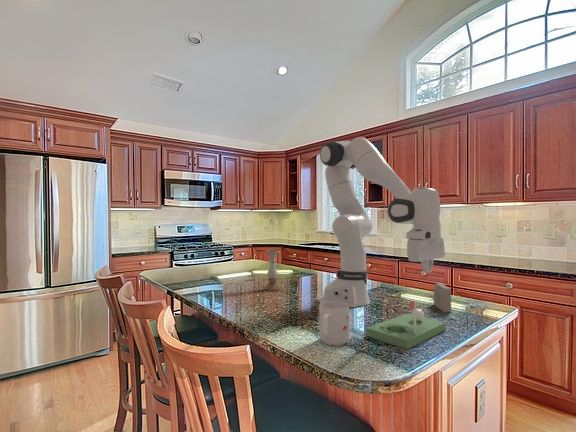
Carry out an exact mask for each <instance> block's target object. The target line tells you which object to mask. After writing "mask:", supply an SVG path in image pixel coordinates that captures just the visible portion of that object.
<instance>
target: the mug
mask: <svg viewBox="0 0 576 432" xmlns="http://www.w3.org/2000/svg"><path fill="white" fill-rule="evenodd" d="M318 309H319V313H318V314H319V319H318V320H319V339H320V341H321V342H322V343H323V342H324V343H325V344H324V343H323V344H324V345H326V344H328V345H327V346H330V345H333V346H332V347H340V346H344V345H346V344H345V343H348V341H349V340H350V307H349V305H348V304H347V303H344V302H339V301H326V302H322V303H319V307H318Z"/></svg>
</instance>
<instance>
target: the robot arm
mask: <svg viewBox="0 0 576 432" xmlns="http://www.w3.org/2000/svg"><path fill="white" fill-rule="evenodd" d="M319 157H320V160H321V162H322V164H323V165H325V166H327V167H325V172H324V174H325V175H324V176H325V182H326V186H327V189H328V192H329V197H330V199H331V202H332V204H333V205H332V206H333V207H334V208H335V209H336V210H337V212H338V213H339V216H337V217H336V218H335V219H334V220H333V222H332V226H331V229H332V232H333V234H334V235H335V237H336V239H337V242H338V247H339V251H340V269H339V268H337V269H336V271H335V275H336V276H335V277H336V278H335V279H333V280H331V281H330V282H329V283H328V284H327V285H326V286H325V287H324V290H323V294H322V295H321V296H319V298H318V303H319V302H320V303H322V302H326V301H339V302H344V303H347V304H348V305H349V308H355V307H362V306H367V305H369V304H370V303H371V301H370V298H369V293H368V270H367V253H366V250H365V249H364V246H363V241H362V239H363V238H365V237H367V236H369V234H371V232H372V230H373V223H372V220H371V219H370V218H369V217H368V215H367V213H366V212H365V210H364V208H363V206H362V204H361V203H360V201H359V199H358V197H357V194H356V190H355V188H354V185H353V182H352V179H351V176H350V169H353V170H354V169H356V171H357V172H358V173H359V175H360V176H361V177H363V178H364V179H365V180H366V181H368V182H371V183H374V184H376V185H378V186H382V187H384V188H386V189H387V190H388V191H389V192H390V193H391V194H392V195H393V197H394V199H393V200H391V201H390V202H389V203H388V207H387V215H388V218H389V219H390V221H391V222H394V223H397V224H400V225H401V224H404V225H406V224H407V225H409V224H410V225H413V226H412V228H411V229H410V230H409V231H408V232H406V235H405V236H406V237H405V238H406V239H407V243H406V253H407V254H406V255H407V259H408V261H409V262H414V263H418V262H419V263H420V264H421V267H422V273H423V274H424V273H425V274H429V273H432V272H433V270H432V269H433V265H434V260H436V259H442V258H445V256H446V250H445V241H444V238H443V237H442V235H441V230H442V229H441V225H442V224H441V221H440V216H441V201H440V195H439V191H438V190H437V189H434V188H432V187H431V188H429V187H424V186H423V187H421V186H419V187H415V188H414V189H413V190H412V191H411V189H410V188H409V187H408V185H406V184H405V182H404V181H403V180H402V179H401V177H400V176H399V175H398V174H397V173H396V172H395V170H393V168H391V166H390V165H389V164H388V162H387V161H386V159H385V158H384V157H383V155H382V154H381V153H380V152H379V150H378V149H377V148H376V146H375V145H374V144H373V143H372V142H370V141H369V140H368V139H367V138H365V137H364V136H357V137H355V138H353V139H352V140H341V141H340V140H339V141H328V142H326V143H323V144H322V146H321V148H320V152H319ZM320 303H319V304H320Z"/></svg>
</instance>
